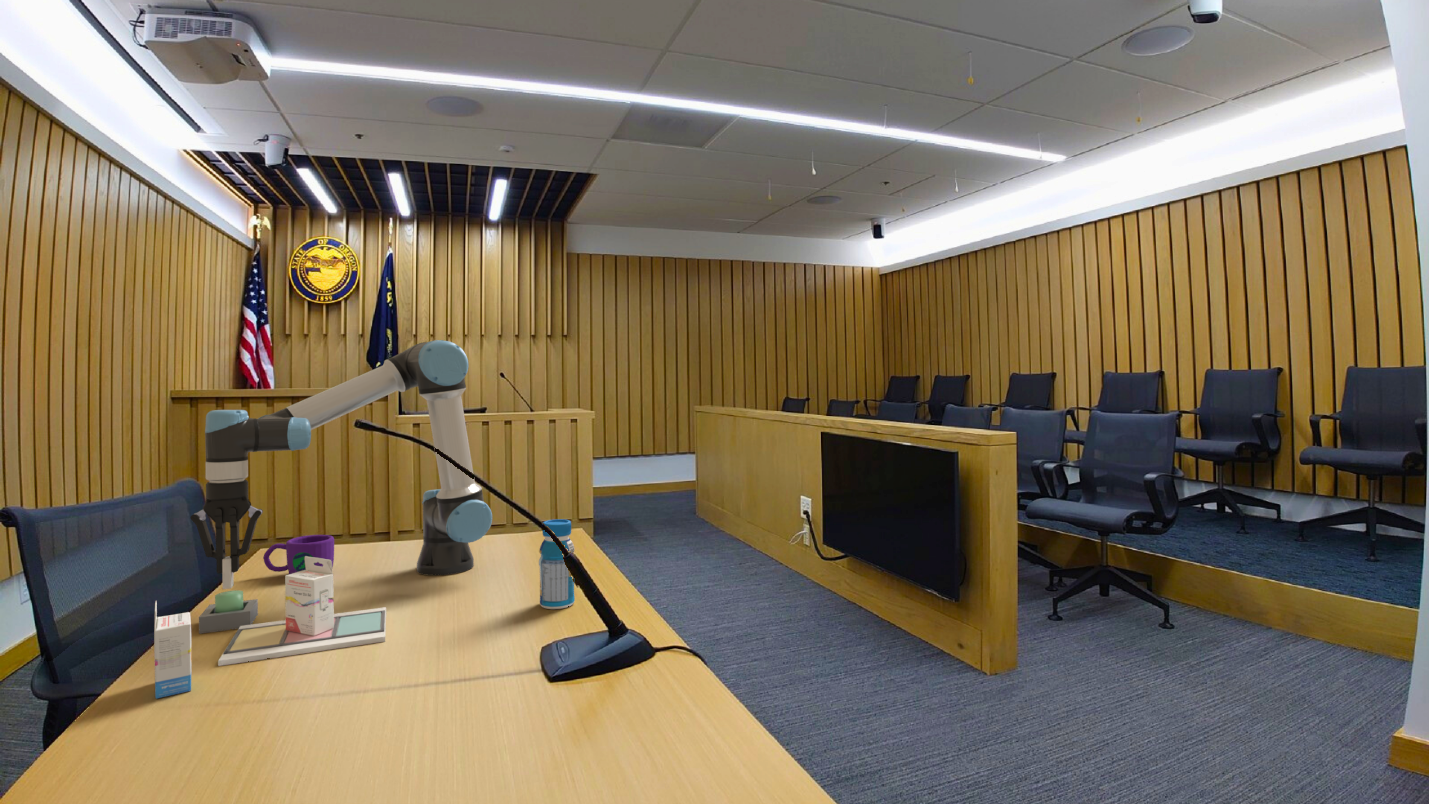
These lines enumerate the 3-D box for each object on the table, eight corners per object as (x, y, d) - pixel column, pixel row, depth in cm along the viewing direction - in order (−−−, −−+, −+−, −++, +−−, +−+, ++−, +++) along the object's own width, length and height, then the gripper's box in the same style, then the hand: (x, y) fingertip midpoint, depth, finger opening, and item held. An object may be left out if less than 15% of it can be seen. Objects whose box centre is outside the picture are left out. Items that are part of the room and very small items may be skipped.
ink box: (192, 691, 114) (191, 606, 114) (154, 700, 111) (153, 612, 111) (191, 674, 121) (190, 594, 121) (155, 682, 118) (153, 599, 117)
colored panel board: (386, 611, 155) (386, 605, 155) (385, 641, 137) (385, 635, 137) (240, 630, 143) (240, 624, 143) (218, 666, 125) (218, 659, 125)
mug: (340, 568, 191) (339, 533, 191) (326, 579, 180) (326, 542, 180) (272, 571, 188) (272, 536, 187) (254, 583, 177) (253, 545, 176)
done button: (245, 610, 150) (245, 589, 150) (240, 617, 146) (240, 595, 145) (218, 613, 148) (218, 592, 148) (212, 620, 143) (212, 598, 143)
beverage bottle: (549, 612, 154) (549, 526, 154) (532, 603, 160) (532, 521, 160) (581, 605, 160) (581, 522, 159) (564, 596, 166) (564, 516, 165)
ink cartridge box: (283, 631, 139) (282, 561, 138) (306, 623, 143) (305, 555, 143) (313, 636, 136) (312, 565, 135) (335, 628, 140) (334, 559, 140)
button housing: (257, 614, 153) (257, 599, 153) (250, 627, 145) (250, 611, 145) (209, 620, 149) (209, 604, 149) (199, 633, 141) (198, 617, 141)
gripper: (265, 476, 152) (266, 579, 153) (195, 479, 146) (195, 586, 147) (259, 480, 145) (260, 588, 146) (185, 484, 140) (186, 595, 140)
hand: (228, 587), depth 146 cm, fingers closed
